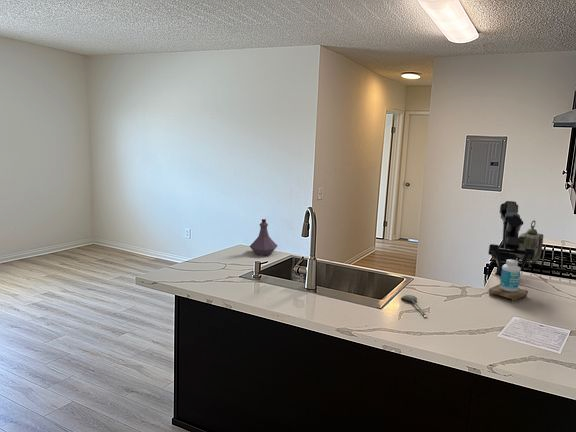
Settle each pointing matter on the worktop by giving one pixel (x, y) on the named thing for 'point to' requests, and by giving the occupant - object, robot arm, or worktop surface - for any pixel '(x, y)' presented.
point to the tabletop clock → (532, 243)
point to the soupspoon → (412, 300)
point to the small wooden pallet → (508, 293)
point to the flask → (263, 241)
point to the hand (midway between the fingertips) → (510, 267)
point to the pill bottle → (510, 276)
